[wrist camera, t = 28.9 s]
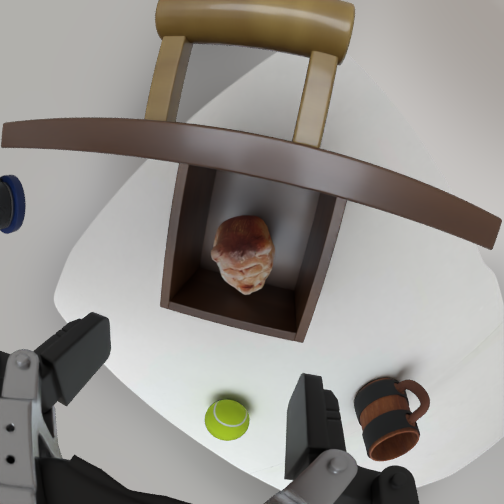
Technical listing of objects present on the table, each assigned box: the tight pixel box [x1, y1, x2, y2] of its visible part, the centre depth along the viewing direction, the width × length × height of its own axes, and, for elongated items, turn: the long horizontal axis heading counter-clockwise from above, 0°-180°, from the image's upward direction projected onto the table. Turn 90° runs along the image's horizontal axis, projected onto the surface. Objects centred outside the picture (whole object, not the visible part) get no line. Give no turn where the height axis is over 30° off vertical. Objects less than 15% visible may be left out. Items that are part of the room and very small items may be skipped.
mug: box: [354, 378, 430, 461], centre depth 32 cm, size 9×12×12 cm
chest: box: [160, 163, 347, 343], centre depth 28 cm, size 16×14×11 cm
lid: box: [1, 0, 502, 250], centre depth 12 cm, size 17×14×5 cm
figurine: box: [211, 215, 275, 295], centre depth 26 cm, size 6×8×15 cm
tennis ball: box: [205, 400, 249, 441], centre depth 38 cm, size 7×7×7 cm
